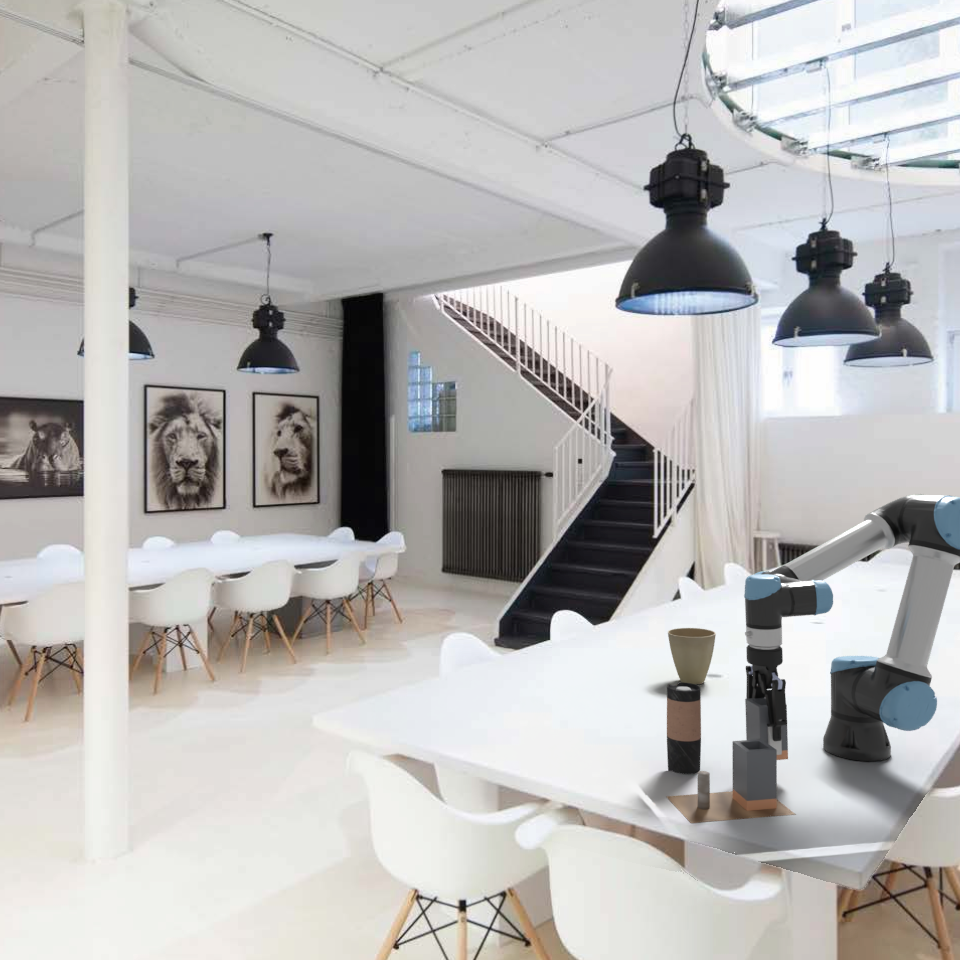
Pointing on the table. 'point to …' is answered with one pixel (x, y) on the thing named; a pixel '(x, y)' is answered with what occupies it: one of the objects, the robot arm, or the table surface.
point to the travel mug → (684, 728)
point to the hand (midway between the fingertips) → (767, 748)
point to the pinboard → (718, 805)
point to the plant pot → (692, 653)
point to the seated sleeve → (754, 774)
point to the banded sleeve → (762, 724)
